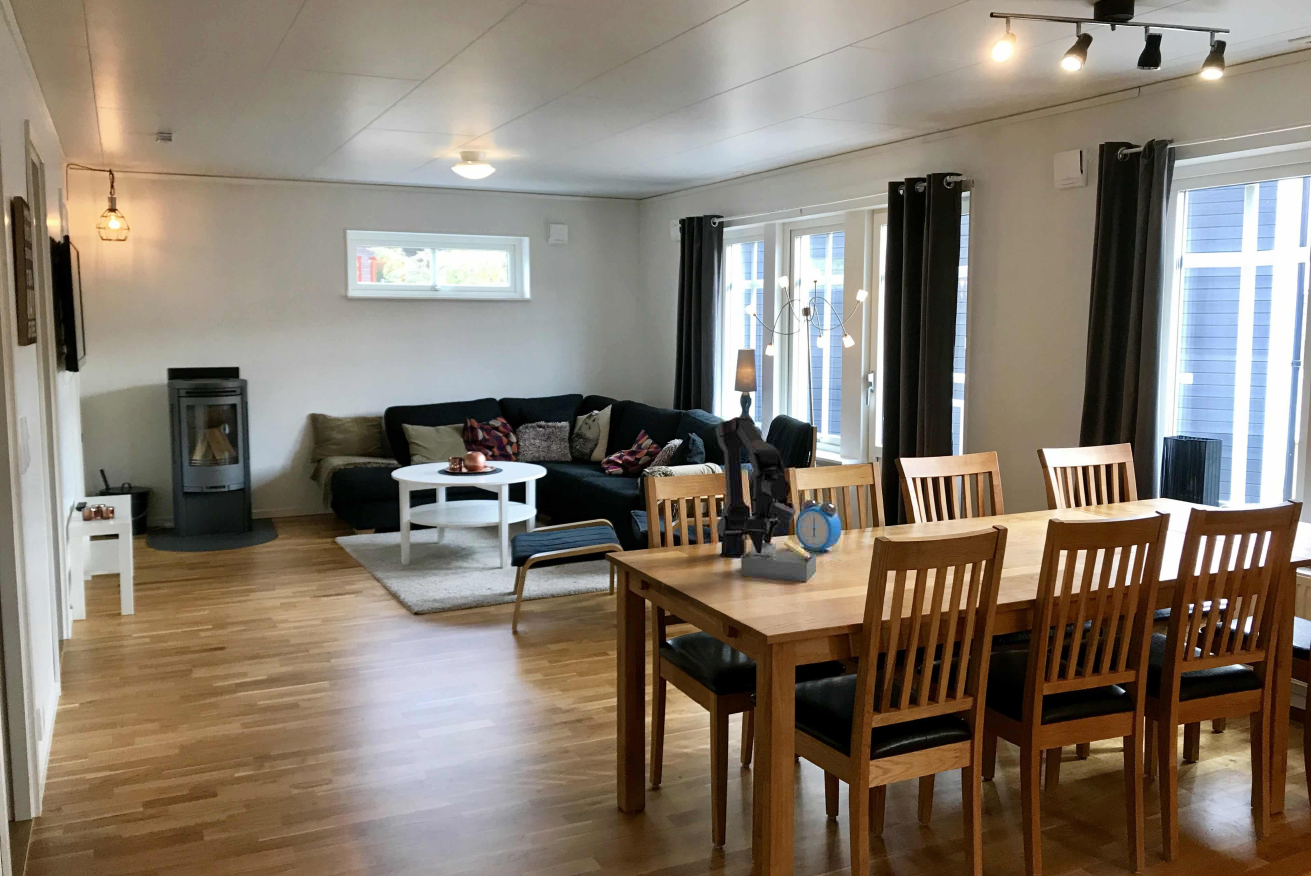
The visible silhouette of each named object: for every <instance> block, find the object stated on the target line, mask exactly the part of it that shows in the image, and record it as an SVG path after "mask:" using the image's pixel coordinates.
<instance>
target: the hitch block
mask: <svg viewBox="0 0 1311 876" xmlns="http://www.w3.org/2000/svg"><path fill="white" fill-rule="evenodd" d="M810 554H811V557H810V558H809V559H808V560H805V559H804V558H803V557H801V556H800V555H798V554H797V553H795V552H794V551H787V550H786V551H785V550H776V555H775V556H773V557H763V556H756V555H750V550H749V551H748V552H746V554H744V555H743V556H742V557H740V558H741V561H740V564H741V567H740V568H741V571H740V574H741V575H740V576H741V577H751V578H759V579H768V580H778V581H779V580H780V581H789V582H800V583H807V582H808V581H809V580H810V579H811V578H812V577H813V576H814V575H815V573H816V572H817V553H810Z"/></svg>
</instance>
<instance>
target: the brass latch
mask: <svg viewBox="0 0 1311 876" xmlns="http://www.w3.org/2000/svg"><path fill="white" fill-rule="evenodd" d="M783 546H785V547H786V548H788V549H789V550H791V552H795V553H797V554H798V555H800V556H801V557H803V558H804V559H805V560H808V559H809V558H810V557H811V554H812V553H810V552H809V551H807V550H806V549H804V548H802V547H801V546H799V545H798V544H796V543H795V542H794V541H791V540H790V539H786V541H785V542H784V544H783Z"/></svg>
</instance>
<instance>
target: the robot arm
mask: <svg viewBox="0 0 1311 876" xmlns="http://www.w3.org/2000/svg"><path fill="white" fill-rule="evenodd" d="M715 436H716V437H717V443H718V445H719V448H720V449H721V450H722V451H723V457H724V458H723V459H724V472H725V478H724V479H725V489H726V490H725V492H726V502H725V503H724V505H723V508H722V509H721V517H720V519H719V521H718V523H717V524H716V532H717V534H718V535H720V536H721V552H720V553H719V556H722V557H731V558H732V557H733V558H742V557H743V556H744V555H746V554H747V539H746V538H745V536H746V535H748V537H749V539H750V540H751V543H753V545H754V547H755V549H756V552H757V553H761V551H762V546H763V543H772V539H773V534H774V531H775V527H776V526H778V524H779V523H781V522H782V521H783V522H785V523H787V524H790V523H791V522H793V519H794V518H795V515H796V512H797V511H796V508H795V504H794V503H793V502H791V501H787V503H786V504H784V503H781V502H779V501H782V500H785V499H786V498H787V497H788V496H789V494H790V492H791V486H790V483H789V482H788V481H787V480H786V478H785V479H784V475H785V473H786V472H785V464H784V462H783V460H782V457H781V455H780V452H779V450H778V449H777V448H776V447H775V446H773V444H771V443H768V442H766V441H765V440H764V439H763V438H762V436H761V434H760V433H759V432H758V430H757V429H756V428H755V426H754V424H753V421H752V418H751V417H748V416H735V417H732V418H731V419H729V420H725V421H720V422H719V423H718V424H717V425H716V427H715ZM743 446H745V447H746V449H747V450H748V452H749V458H748V459H749V463H750V466H751V468H752V470H753V471H752V472H751V473H752V475H753V497H751V503H753V511H752V512H751V508H750V506H749V505H747V503H746V502H745V501H744V495H743V476H742V475H743V474H742V460H741V458H742V457H741V450H742V448H743Z"/></svg>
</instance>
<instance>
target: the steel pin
mask: <svg viewBox="0 0 1311 876" xmlns="http://www.w3.org/2000/svg"><path fill="white" fill-rule="evenodd" d="M749 551H750V555H756V556H763V557H773V556H775V555H776V551H777V544H776V543H773V542H770V543H764V542H763V546H762V551H761V553H757V552H756V549H755V547H754V545H753V543H752V542H751V543H750V549H749Z"/></svg>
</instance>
